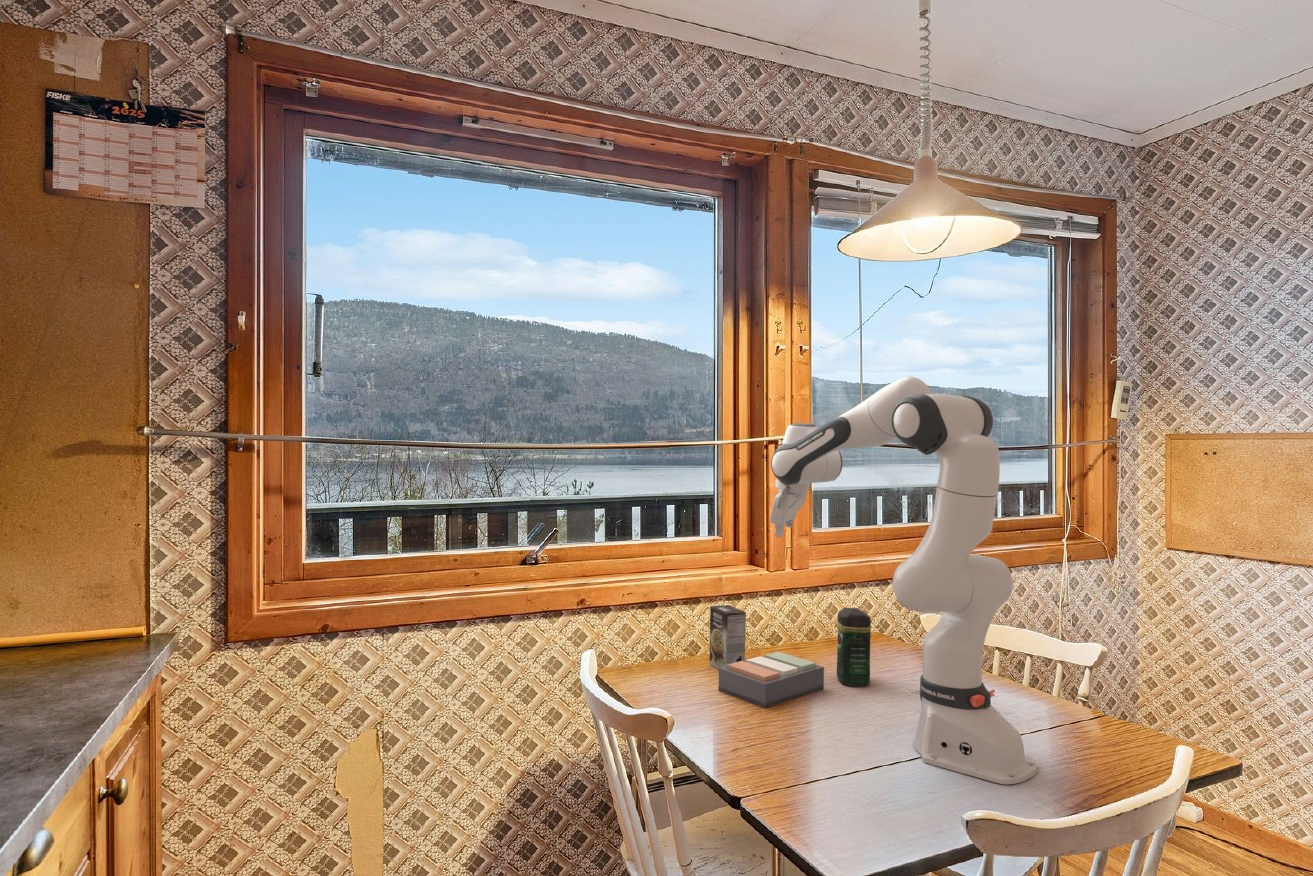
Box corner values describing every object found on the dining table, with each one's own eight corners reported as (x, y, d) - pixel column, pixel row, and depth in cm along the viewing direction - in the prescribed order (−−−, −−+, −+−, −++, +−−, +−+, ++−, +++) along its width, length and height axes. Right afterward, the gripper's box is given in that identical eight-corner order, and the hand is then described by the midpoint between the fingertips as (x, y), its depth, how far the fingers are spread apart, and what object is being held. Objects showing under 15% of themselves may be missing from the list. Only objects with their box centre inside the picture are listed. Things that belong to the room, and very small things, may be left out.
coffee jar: (873, 688, 184) (874, 614, 184) (841, 687, 184) (842, 613, 184) (863, 676, 194) (864, 605, 194) (833, 675, 194) (834, 605, 194)
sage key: (815, 674, 183) (815, 662, 183) (801, 678, 179) (802, 666, 179) (777, 663, 192) (778, 651, 192) (764, 666, 189) (764, 655, 189)
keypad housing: (823, 689, 182) (823, 667, 182) (764, 708, 168) (765, 684, 169) (777, 673, 194) (777, 653, 194) (718, 690, 180) (718, 668, 180)
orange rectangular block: (779, 685, 174) (779, 673, 174) (764, 690, 171) (764, 677, 171) (741, 672, 183) (742, 660, 183) (727, 676, 180) (727, 664, 180)
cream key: (797, 680, 178) (797, 667, 178) (783, 684, 175) (783, 671, 175) (760, 667, 188) (760, 656, 188) (746, 671, 184) (746, 659, 184)
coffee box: (708, 664, 202) (709, 606, 202) (728, 662, 204) (729, 604, 205) (725, 674, 193) (725, 613, 194) (745, 671, 196) (746, 611, 196)
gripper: (793, 494, 181) (784, 546, 185) (814, 476, 199) (805, 524, 203) (769, 488, 184) (760, 539, 187) (791, 471, 202) (783, 518, 205)
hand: (784, 531), depth 195 cm, fingers open, 8 cm apart
